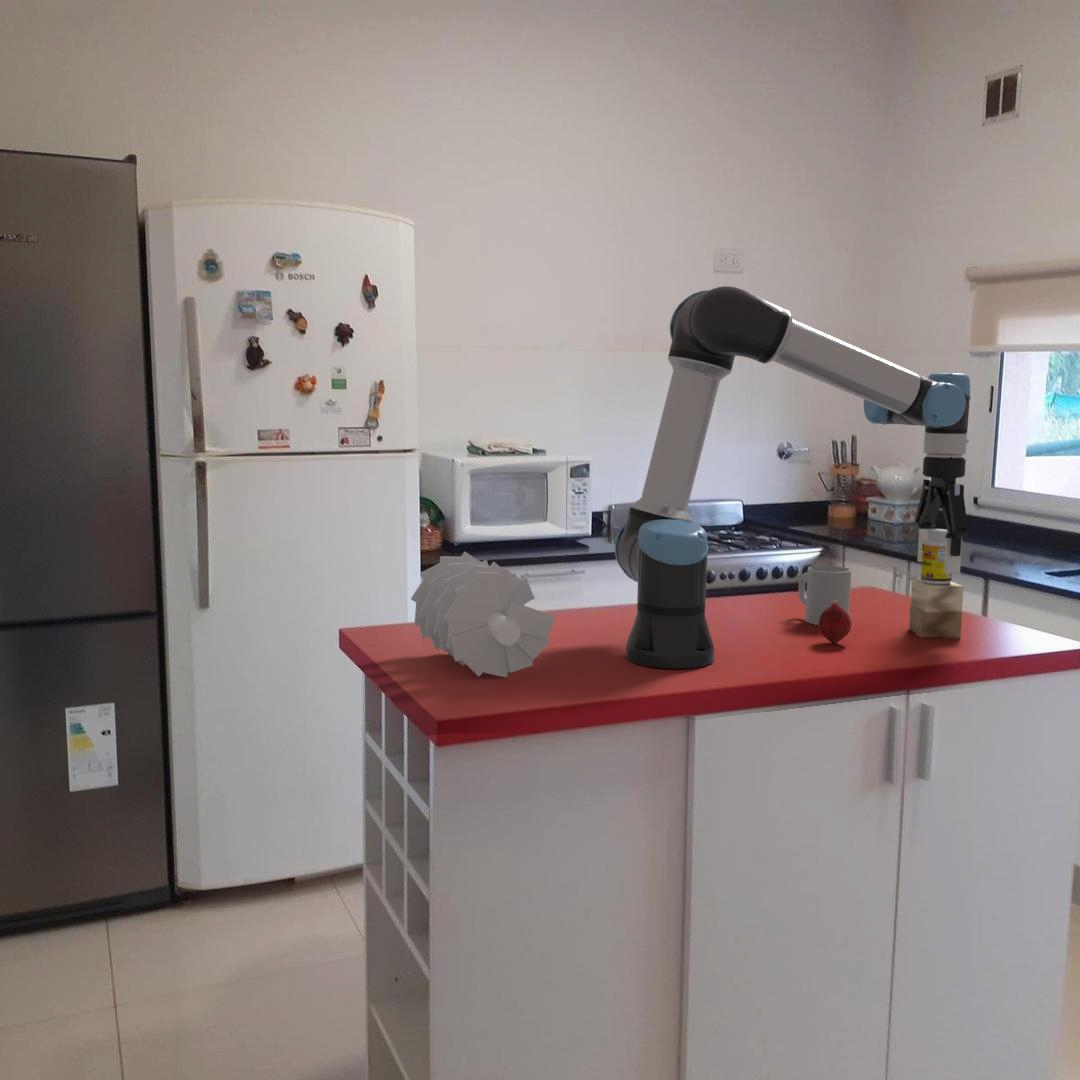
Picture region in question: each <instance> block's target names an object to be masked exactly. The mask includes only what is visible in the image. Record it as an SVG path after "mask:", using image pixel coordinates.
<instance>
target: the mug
mask: <svg viewBox="0 0 1080 1080" xmlns="http://www.w3.org/2000/svg"><path fill="white" fill-rule="evenodd" d="M851 582H852V570H851V569H850V568H849V567H845V566H838V565H837V566H836V565H813V566H808V567H807V572H804V573H803V574H802V575H801V576H800V579H799V582H798V598H799V601H800V602H801V603H802V604H804V605H805V615H804V616H805V617H804V620H805V622H806V623H807V622H808V623H811V624H815V625H814V626H816V625H819V619H820V616H821V614H822V613H823V612H824V611H825V610H826V609H827V608H829V607H830V606H832V604H833V601H838V602H839V605H840V607H842V608H843V609H844V610H845V611H846V612H847V613H848V615H849V616H850V608H851V607H850V605H851V604H850V603H851ZM808 623H807V624H808ZM811 624H810V625H811Z"/></svg>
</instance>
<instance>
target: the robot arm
mask: <svg viewBox="0 0 1080 1080" xmlns="http://www.w3.org/2000/svg"><path fill="white" fill-rule="evenodd" d="M669 334H670V339H671V344H670V348H669V351H668V352H669V353H668V356H667V360H668V362H669V363H670V366H671V367H672V369H673V371H672V375H671V377H670V381H669V386H668V390H667V395H666V398H665V403H664V406H663V410H662V413H661V417H660V423H659V425H658V429H657V433H656V438H655V442H654V446H653V449H652V450H653V451H652V453H651V457H650V461H649V465H648V470H647V473H646V477H645V481H644V486H643V489H642V493H641V497H640V498H639V499H637V500H636V501H635V502H633V503H631V504H630V506H629V507H630V508H629V510H628V514H627V518H626V522H625V524H624V525H623V526H622V527H620V530H618V532H617V535H616V537H615V540H614V555H615V559H616V562H617V563H618V566H619V568H621V570H622V571H623V574H625V575H626V576H627V577H628V578H629V579H631V580H633V581H634V582H635V583H637V599H636V600H637V602H636V605H637V606H636V607H637V608H636V616H635V619H634V621H633V624H632V628H631V631H630V632H629V635H628V637H627V641H626V645H625V658H626V659H627V660H628V661H630V662H632V663H634V664H637V665H640V666H646V667H650V668H658V669H659V668H660V669H674V670H675V669H677V670H678V669H692V668H693V669H694V668H700V667H705V666H709V665H710V664H712V663H714V661H715V645H714V642H713V638H712V636H711V631H710V628H709V624H708V622H707V621H708V620H707V618H706V599H707V597H706V596H707V595H706V594H707V574H708V573H707V569H708V554H709V553H708V552H709V543H708V535H707V532H706V530H705V529H704V528H703V527H702V526H701V525H699V524H697V523H695V522H693V519H692V516H691V515H690V513H689V511H688V507H689V504H690V503H689V502H690V498H691V496H692V491H693V487H694V482H695V479H696V474H697V470H698V467H699V463H700V459H701V455H702V452H703V449H704V445H705V440H706V435H707V434H708V433H707V431H708V428H709V425H710V421H711V417H712V413H713V409H714V406H715V403H716V399H717V398H716V397H717V393H718V389H719V385H720V383H721V381H722V380H723V379H724V378H726V377H727V376H729V375H730V374H732V369H733V365H734V362H735V358H736V356H737V357H743V358H747V359H751V360H755V361H756V362H759V363H762V364H764V365H766V364H768V363H771V362H775V363H777V364H778V365H779V364H780V365H781V366H784V367H786V368H789V369H792V370H793V371H796V372H798V373H800V374H803V375H805V376H808V377H810V378H812V379H814V380H818V381H820V382H822V383H825V384H826V385H830V386H832V387H834V388H836V389H839V390H842V391H843V392H846V393H848V394H850V395H854V396H856V397H858V398H860V399H862V400H863V412H864V417H865V418H866V420H867V421H868V422H870V423H871V424H875V425H876V424H879V425H884V426H885V425H905V426H907V425H908V426H920V427H921V426H923V427H925V429H924V435H923V436H924V437H923V439H924V440H923V453H924V454H926V456H925V457H923V460H922V461H923V462H922V463H923V464H922V475H923V476H924V477H927V478H924V479H923V482H922V490H921V495H920V498H919V503H918V507H917V510H916V515H915V518H914V523H915V524H917V526H918V545H917V547H918V548H917V562H919V563H922V545H923V540H925V539H928V537H927V532H928V529H937V528H936V524H935V522H936V519H937V516H938V514H939V511H940V509H941V510H942V514H943V519H944V522H945V523H944V524H945V526H946V530H947V531H948V533H947V534H946V536H945V538H946V548H945V564H944V573H952V574H961V566H962V565H961V564H962V550H963V549H962V548H963V546H962V545H963V539H964V538H965V537H969V535H970V534H969V528H968V527H969V526H968V520H967V510H966V503H965V486H964V483H962V484H961V483H957V478H959V479H960V478H964V477H965V475H966V462H967V460H966V459H965V457H964V455H966V453H967V444H968V443H969V442H970V439H969V438H968V428H969V427H968V426H969V413H970V401H971V383H970V381H971V379H970V376H969V375H968V374H966V373H961V372H959V373H958V372H957V373H953V372H952V373H951V372H950V373H949V372H948V373H943V372H942V373H940V372H939V373H937V372H935V373H930V374H929V376H928V377H926V376H923V375H920V374H917V373H916V372H913V371H912V370H909V369H907V368H906V367H905V368H904V367H903V366H900V365H898V364H895V363H893V362H891V361H889V360H887V359H884V358H881V357H879V356H878V355H875V354H872V353H870V352H868V351H866V350H863V349H861V348H859V347H857V346H854V345H853V344H850V343H847V342H846V341H843V340H841V339H838V338H836V337H835V336H834V337H833V335H832V336H831V335H829V334H827V333H824V332H822V331H821V330H818V329H815V328H813V327H811V326H808V325H807V324H804V323H802V322H799V321H797V320H795V319H793V317H792V314H791V312H790V311H789V310H788V309H785V308H784V307H781V306H779V305H776V304H774V303H772V302H771V301H769V300H766V299H764V298H762V297H761V296H758V295H755V294H754V293H751V292H749V291H747V290H745V289H741V288H739V287H736V286H729V285H727V286H726V285H725V286H717V287H714V288H712V289H708V290H701V291H697V292H694V293H693V294H690V295H689V296H687V297H686V298H685V299H683V300H682V301H681V302H680V303H679V304H678V305H677V306H676V308H675V310H674V312H673V313H672V316H671V319H670V323H669Z"/></svg>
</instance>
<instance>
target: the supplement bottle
mask: <svg viewBox="0 0 1080 1080" xmlns="http://www.w3.org/2000/svg"><path fill="white" fill-rule="evenodd" d="M947 533H948V531H947V528H945V529H943V528H930V529H928V532H927V537H928V539H925V540H923V545H922V562H921V565H920V566H921V568H920V580H922V582H924V583H927V584H935V585H945V584H949V583H951V581H952V577H953V573H944V564H945V548H946V538H945V536H946V534H947Z"/></svg>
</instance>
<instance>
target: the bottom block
mask: <svg viewBox="0 0 1080 1080" xmlns="http://www.w3.org/2000/svg"><path fill="white" fill-rule="evenodd" d="M909 607H910V610H909V627H908V629H909V628H910V629H911V630H912V631H914V632H915V633H916V634H918V635H919V636H920V637H943V638H942V639H961V636H962V635H961V634H962V621H963V619H962V618H963V612H924V611H922V610H920V609H918V608H916V607H914V606H912V605H911V604H910V606H909ZM910 629H909V630H910ZM911 630H910V631H911ZM912 631H911V632H912ZM914 632H913V633H914ZM915 633H914V634H915ZM916 634H915V635H916ZM918 635H917V636H918ZM919 636H918V637H919ZM920 637H919V638H920Z"/></svg>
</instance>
